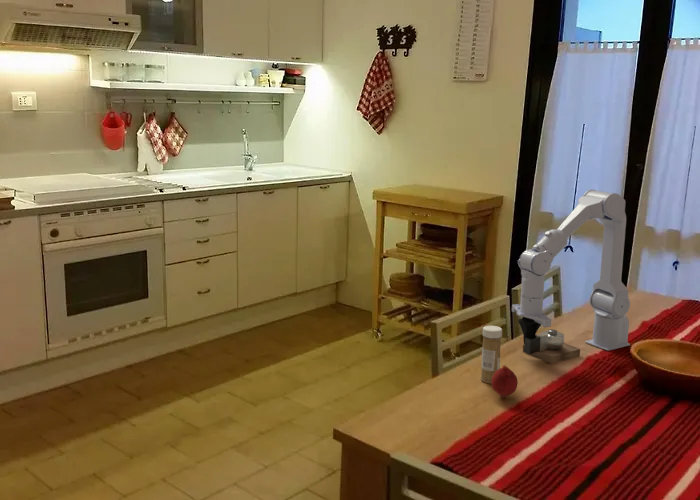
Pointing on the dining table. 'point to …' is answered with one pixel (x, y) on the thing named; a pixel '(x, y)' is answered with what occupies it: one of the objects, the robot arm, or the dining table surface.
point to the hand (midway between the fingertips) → (528, 344)
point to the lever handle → (544, 341)
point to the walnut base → (557, 353)
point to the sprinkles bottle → (490, 352)
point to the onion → (504, 381)
